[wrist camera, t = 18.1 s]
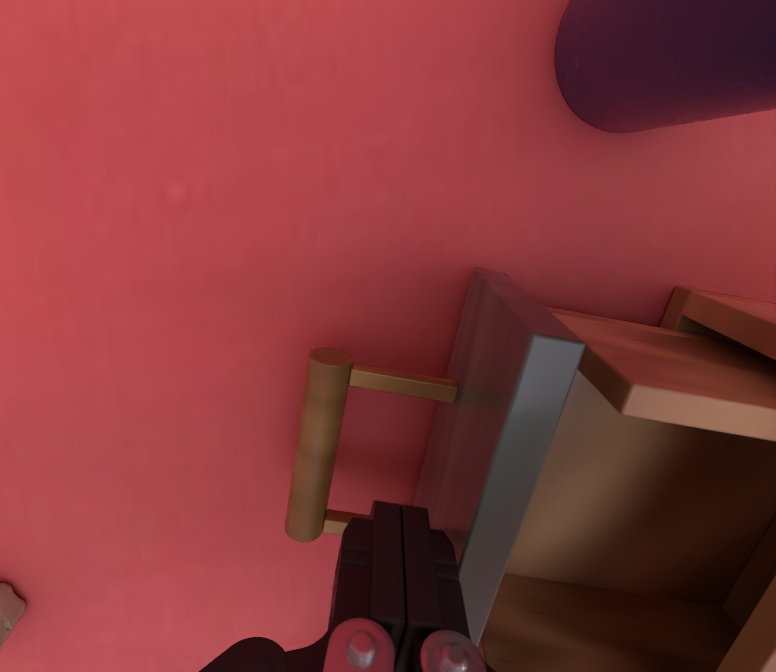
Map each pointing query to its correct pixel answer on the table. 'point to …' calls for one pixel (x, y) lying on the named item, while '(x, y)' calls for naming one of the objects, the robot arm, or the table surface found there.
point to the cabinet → (771, 338)
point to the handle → (9, 611)
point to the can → (666, 61)
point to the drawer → (578, 482)
